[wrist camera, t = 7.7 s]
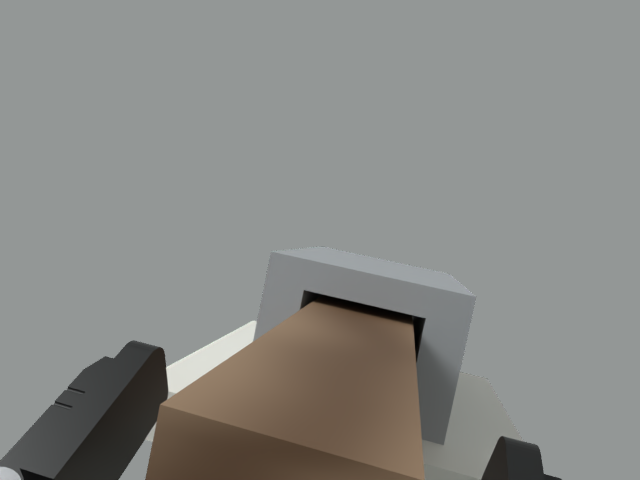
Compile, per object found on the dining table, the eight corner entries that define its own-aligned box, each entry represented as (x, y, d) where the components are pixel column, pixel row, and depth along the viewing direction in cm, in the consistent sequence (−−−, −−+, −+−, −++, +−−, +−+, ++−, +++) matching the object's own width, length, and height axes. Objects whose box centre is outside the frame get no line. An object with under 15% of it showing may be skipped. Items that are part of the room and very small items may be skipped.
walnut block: (110, 654, 8) (159, 404, 7) (334, 339, 31) (347, 277, 31) (365, 753, 7) (424, 480, 7) (397, 354, 31) (410, 291, 30)
